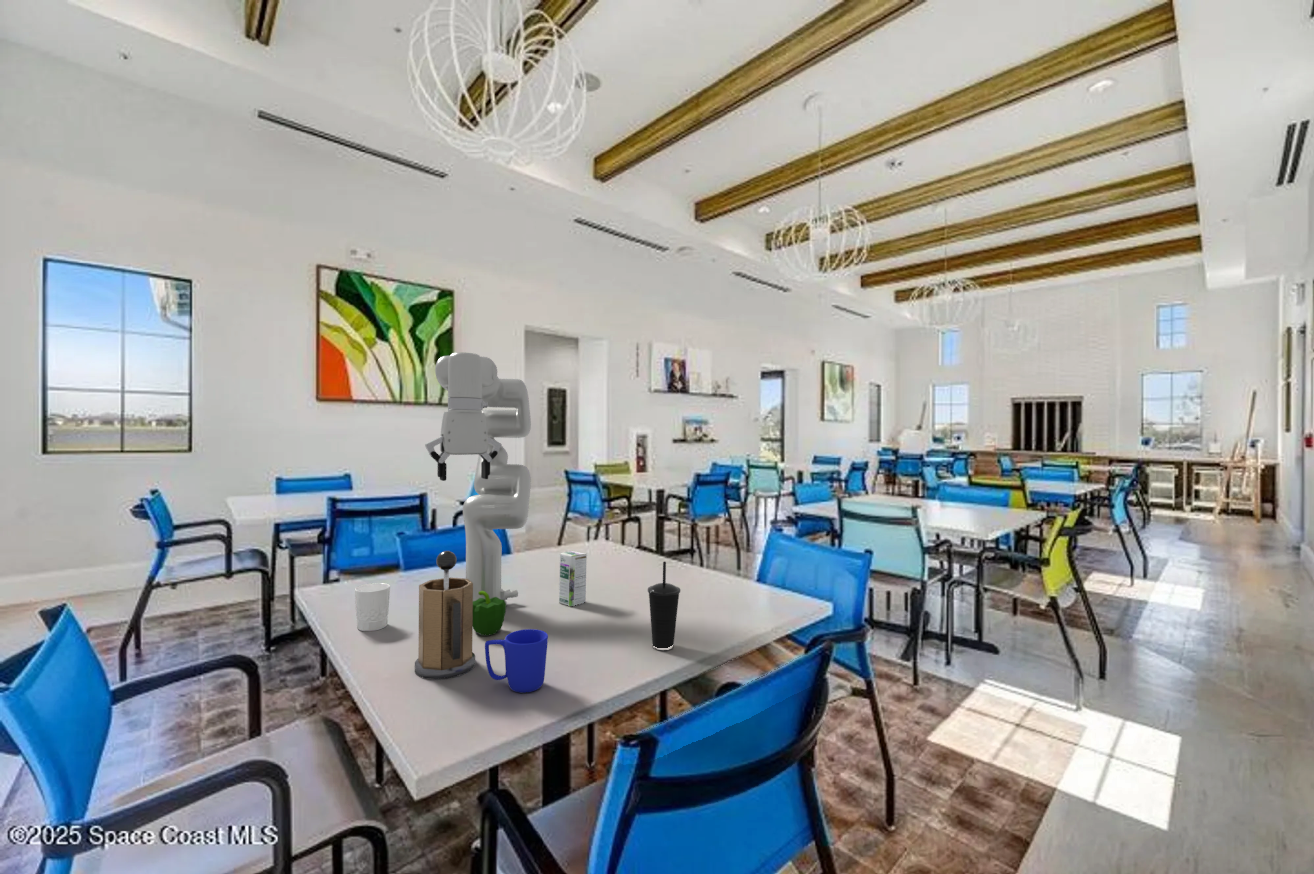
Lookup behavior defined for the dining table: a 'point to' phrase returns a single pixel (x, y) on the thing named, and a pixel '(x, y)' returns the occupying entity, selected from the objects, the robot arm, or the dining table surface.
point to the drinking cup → (663, 612)
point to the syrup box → (572, 578)
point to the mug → (522, 659)
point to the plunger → (446, 565)
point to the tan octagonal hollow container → (445, 629)
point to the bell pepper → (488, 614)
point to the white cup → (372, 606)
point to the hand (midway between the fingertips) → (464, 479)
